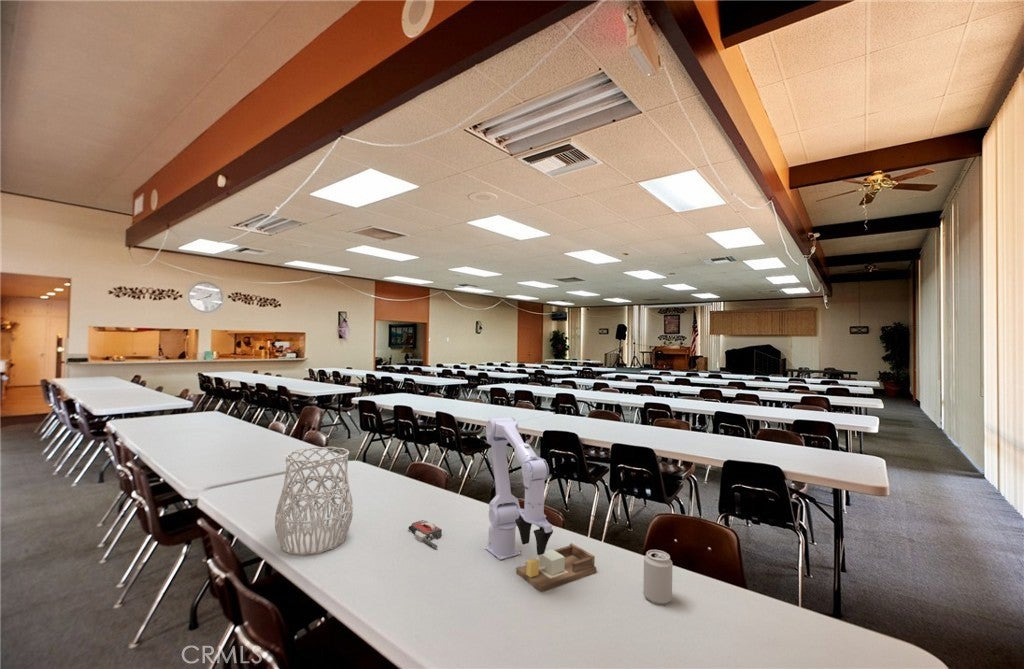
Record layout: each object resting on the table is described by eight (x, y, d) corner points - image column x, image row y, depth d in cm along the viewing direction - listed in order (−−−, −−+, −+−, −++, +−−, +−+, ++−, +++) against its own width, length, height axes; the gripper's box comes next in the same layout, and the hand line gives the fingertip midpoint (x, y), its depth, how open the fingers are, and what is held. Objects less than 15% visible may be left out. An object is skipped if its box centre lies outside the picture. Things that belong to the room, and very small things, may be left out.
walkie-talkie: (403, 532, 158) (433, 552, 144) (403, 520, 158) (434, 538, 144) (423, 526, 164) (455, 544, 150) (424, 514, 165) (455, 531, 150)
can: (649, 587, 125) (650, 545, 125) (675, 597, 120) (676, 553, 121) (638, 598, 119) (639, 554, 120) (666, 609, 114) (666, 563, 115)
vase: (323, 522, 165) (326, 442, 166) (366, 537, 152) (370, 451, 153) (258, 545, 144) (263, 454, 145) (302, 565, 131) (307, 465, 133)
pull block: (522, 571, 128) (522, 557, 129) (551, 562, 135) (552, 549, 135) (534, 580, 123) (534, 566, 124) (564, 570, 130) (564, 556, 130)
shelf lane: (516, 573, 131) (516, 558, 131) (570, 556, 143) (570, 542, 143) (540, 592, 121) (541, 575, 121) (596, 572, 133) (596, 557, 133)
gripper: (560, 507, 124) (559, 555, 123) (530, 492, 136) (529, 536, 135) (541, 511, 120) (539, 561, 119) (511, 496, 132) (510, 541, 131)
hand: (532, 548), depth 127 cm, fingers open, 7 cm apart
